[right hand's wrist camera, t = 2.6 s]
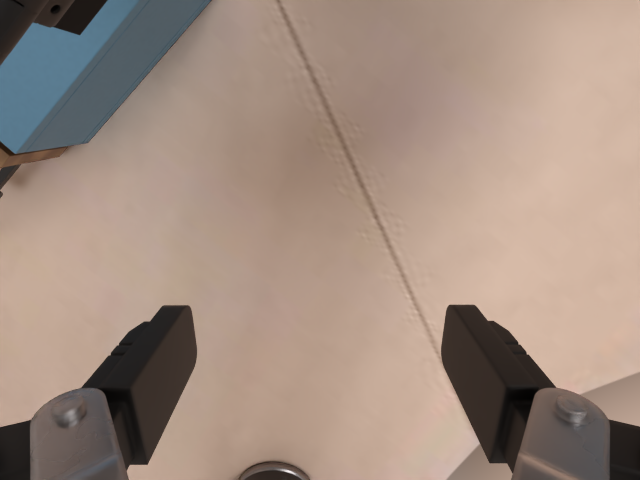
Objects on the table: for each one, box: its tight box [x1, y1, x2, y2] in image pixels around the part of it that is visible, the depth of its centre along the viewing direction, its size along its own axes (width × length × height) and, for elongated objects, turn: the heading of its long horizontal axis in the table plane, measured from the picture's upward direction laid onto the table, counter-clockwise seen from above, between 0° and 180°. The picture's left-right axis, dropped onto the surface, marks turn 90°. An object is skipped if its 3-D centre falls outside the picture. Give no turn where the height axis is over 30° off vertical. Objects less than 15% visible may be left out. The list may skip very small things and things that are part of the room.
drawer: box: [0, 141, 67, 198], centre depth 25 cm, size 22×9×6 cm, turn 132°
